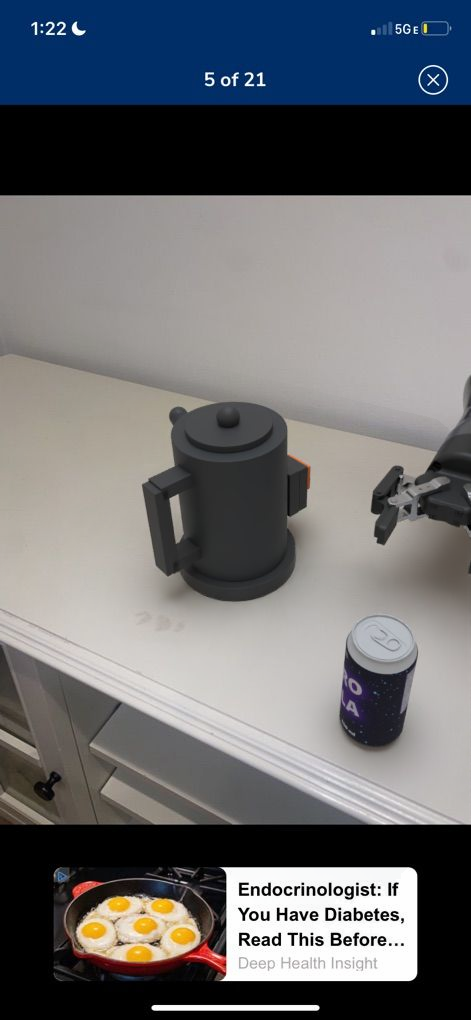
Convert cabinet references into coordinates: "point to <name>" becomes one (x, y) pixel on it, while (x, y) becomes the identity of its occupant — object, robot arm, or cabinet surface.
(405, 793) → the cabinet surface
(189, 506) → the kettle
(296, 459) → the kettle switch
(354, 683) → the beverage can
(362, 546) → the cabinet surface
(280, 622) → the cabinet surface
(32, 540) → the cabinet surface
